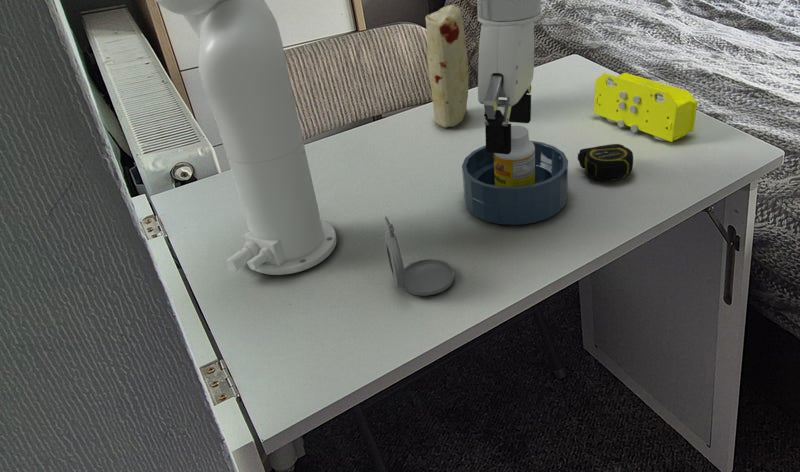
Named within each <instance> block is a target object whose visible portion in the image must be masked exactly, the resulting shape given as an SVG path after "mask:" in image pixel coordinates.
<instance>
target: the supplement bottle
mask: <svg viewBox="0 0 800 472" xmlns="http://www.w3.org/2000/svg"><path fill="white" fill-rule="evenodd" d="M529 134H530V133H529V129H528V128H527V127H525V126H522V125H511V152H510V154H498V153H493V154H494V176H495V186H499V187H520V186H528V185H534V184H535V146H534V144H533V142H531V141H532V140H530V135H529Z"/></svg>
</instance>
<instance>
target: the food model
mask: <svg viewBox="0 0 800 472" xmlns="http://www.w3.org/2000/svg"><path fill="white" fill-rule="evenodd" d="M425 31H426V45H427V71H428V78H429V83H430V92H431V99H432V106H433V116H434V119H435V122H436V124H437V125H439V126H441V127H442V128H445V129H447V128H449V127H455V126H457V125H459V124H460V123H461V122H463V120H464V119H465V118H466V115H467V111H468V108H467V107H468V97H469V59H468V58H469V57H468V50H467V41H466V35H465V28H464V21H463V14H462V10H461V9H460V7H458V6H456V5H453V4H449V5H446V6H445V5H444V6H443V7H441V8H439V9H438V10H437V11H434V12H431V13H430V14H429V13H428V14H427V15H425Z"/></svg>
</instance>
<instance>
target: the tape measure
mask: <svg viewBox="0 0 800 472" xmlns="http://www.w3.org/2000/svg"><path fill="white" fill-rule="evenodd" d="M577 161H578V162H579V167H581V168H582V169H583V170H585V173H586V174H587V175H588V176H589V177H590V178H593V179H595V180H598V181H617V180H621V179H624V178H626V177H628V176H629V175H630V174H631V173H632V170H633V166H634V153H633V151H632V150H631V149H630V148H628V147H626V146H625V145H624V144H621V143H612V144H611V143H610V144H604V145H598V146H597V145H596V146H592V147H586V148H581V149H579V152H578V153H577Z"/></svg>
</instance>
